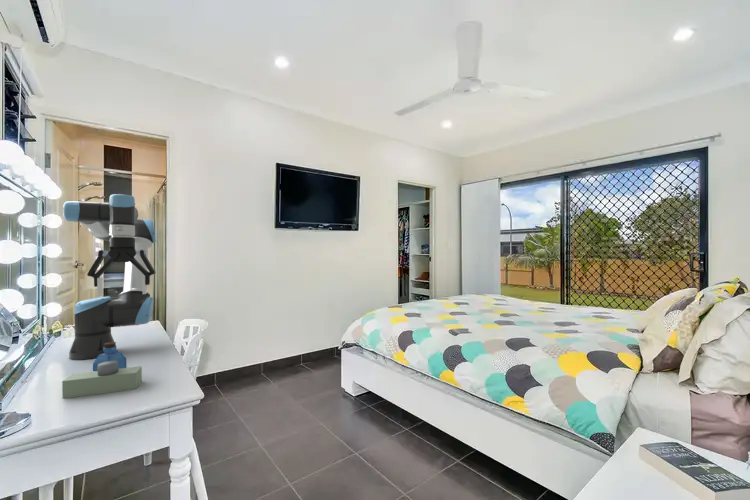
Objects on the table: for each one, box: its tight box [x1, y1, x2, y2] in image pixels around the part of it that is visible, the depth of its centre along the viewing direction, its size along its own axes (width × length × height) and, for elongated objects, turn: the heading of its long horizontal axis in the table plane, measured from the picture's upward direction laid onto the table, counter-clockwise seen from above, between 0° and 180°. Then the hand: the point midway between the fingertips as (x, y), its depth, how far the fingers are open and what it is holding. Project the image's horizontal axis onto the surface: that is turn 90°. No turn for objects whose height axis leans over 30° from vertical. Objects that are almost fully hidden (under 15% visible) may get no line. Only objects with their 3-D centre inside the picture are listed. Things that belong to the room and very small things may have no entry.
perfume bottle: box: [92, 341, 127, 372], centre depth 113 cm, size 6×6×12 cm
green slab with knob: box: [61, 361, 143, 399], centre depth 109 cm, size 15×18×8 cm
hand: (122, 294), depth 125 cm, fingers open, 13 cm apart
